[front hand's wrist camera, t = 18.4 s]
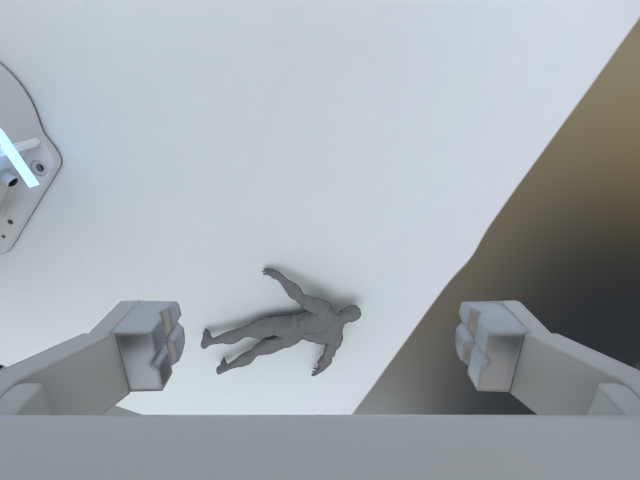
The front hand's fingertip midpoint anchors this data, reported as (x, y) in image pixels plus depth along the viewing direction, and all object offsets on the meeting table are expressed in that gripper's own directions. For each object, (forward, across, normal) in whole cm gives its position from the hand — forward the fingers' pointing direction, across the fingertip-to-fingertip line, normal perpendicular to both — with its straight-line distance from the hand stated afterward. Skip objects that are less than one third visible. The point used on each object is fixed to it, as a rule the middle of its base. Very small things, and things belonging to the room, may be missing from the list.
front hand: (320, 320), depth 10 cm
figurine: (+30, +5, +21) cm, 37 cm away
